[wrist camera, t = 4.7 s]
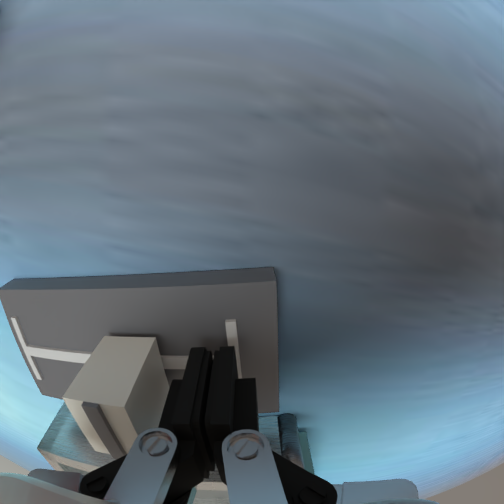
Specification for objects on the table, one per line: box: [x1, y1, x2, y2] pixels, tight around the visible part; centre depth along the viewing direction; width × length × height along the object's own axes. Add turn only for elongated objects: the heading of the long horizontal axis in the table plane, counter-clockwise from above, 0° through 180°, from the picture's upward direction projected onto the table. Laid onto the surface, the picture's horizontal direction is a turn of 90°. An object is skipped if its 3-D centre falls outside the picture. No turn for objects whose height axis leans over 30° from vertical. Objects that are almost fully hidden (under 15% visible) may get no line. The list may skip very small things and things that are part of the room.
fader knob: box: [62, 336, 170, 459], centre depth 10 cm, size 2×3×4 cm
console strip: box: [0, 267, 279, 413], centre depth 13 cm, size 14×7×2 cm, turn 93°
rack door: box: [299, 432, 315, 475], centre depth 15 cm, size 2×10×4 cm, turn 4°
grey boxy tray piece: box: [37, 403, 305, 504], centre depth 14 cm, size 15×12×5 cm
